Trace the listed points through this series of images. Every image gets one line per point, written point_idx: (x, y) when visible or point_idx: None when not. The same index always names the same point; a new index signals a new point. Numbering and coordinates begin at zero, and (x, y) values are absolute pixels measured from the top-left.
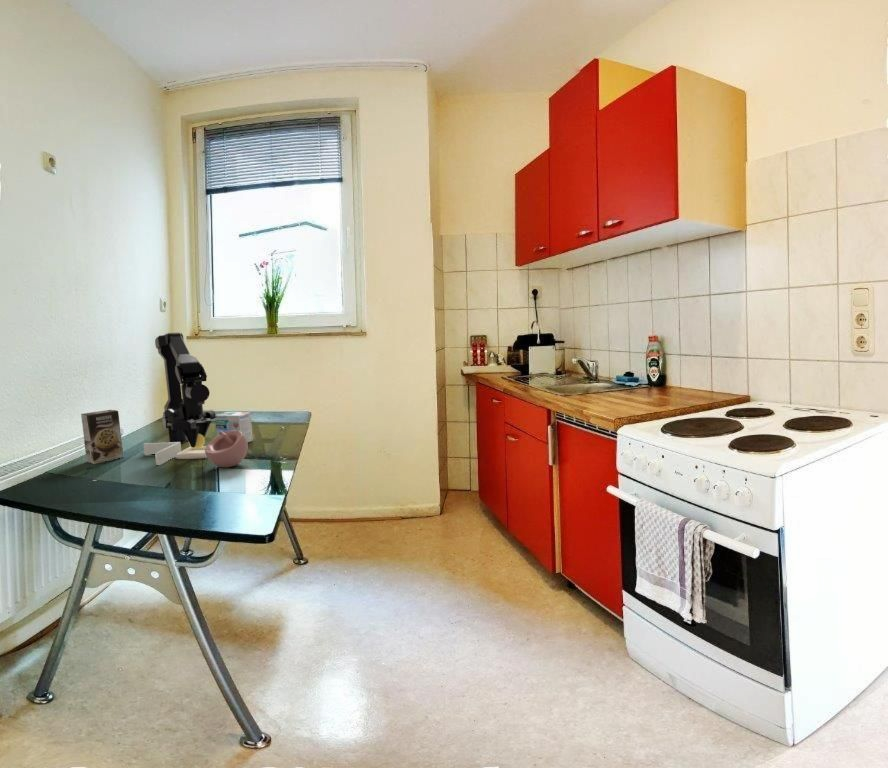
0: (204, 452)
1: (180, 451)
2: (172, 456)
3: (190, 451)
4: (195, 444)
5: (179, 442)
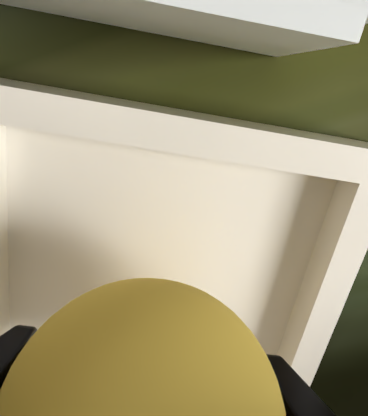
0: None
1: (260, 49)
2: (20, 4)
3: (259, 180)
4: None
5: (332, 27)
